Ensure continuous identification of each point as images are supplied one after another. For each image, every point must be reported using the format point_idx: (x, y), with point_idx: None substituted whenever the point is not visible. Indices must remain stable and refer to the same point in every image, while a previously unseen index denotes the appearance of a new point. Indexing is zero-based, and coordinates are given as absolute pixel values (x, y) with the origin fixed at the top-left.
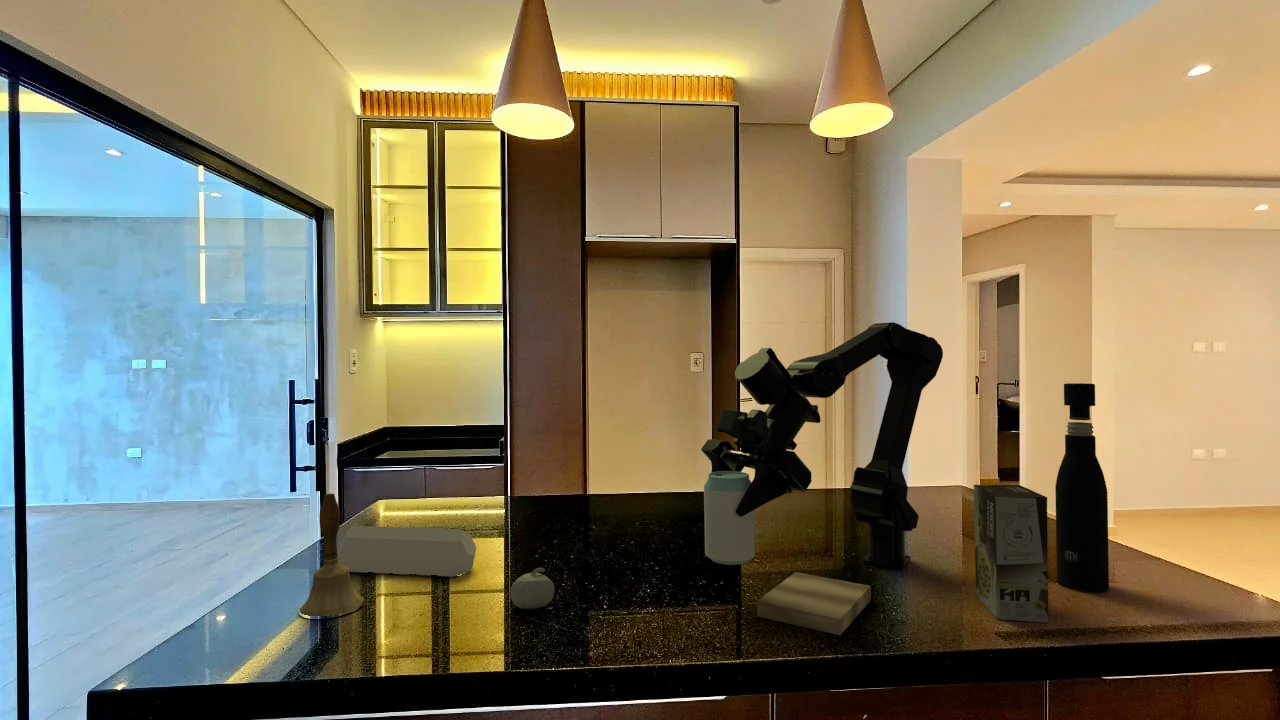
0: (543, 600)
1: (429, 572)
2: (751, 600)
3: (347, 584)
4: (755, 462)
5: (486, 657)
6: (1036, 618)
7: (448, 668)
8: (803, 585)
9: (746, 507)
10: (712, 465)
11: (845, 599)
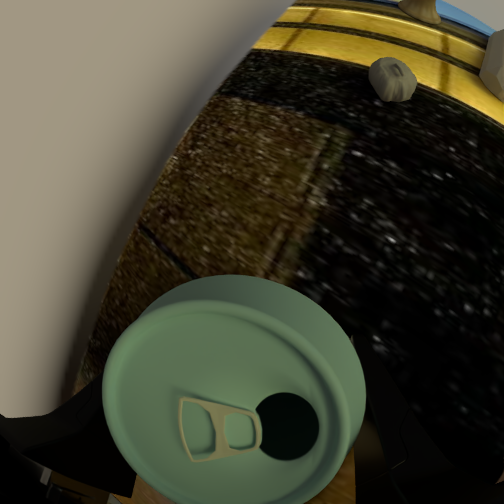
0: (373, 86)
1: (483, 64)
2: None
3: (419, 1)
4: (23, 451)
5: (279, 41)
6: None
7: (275, 26)
8: None
9: None
10: (454, 472)
11: None
